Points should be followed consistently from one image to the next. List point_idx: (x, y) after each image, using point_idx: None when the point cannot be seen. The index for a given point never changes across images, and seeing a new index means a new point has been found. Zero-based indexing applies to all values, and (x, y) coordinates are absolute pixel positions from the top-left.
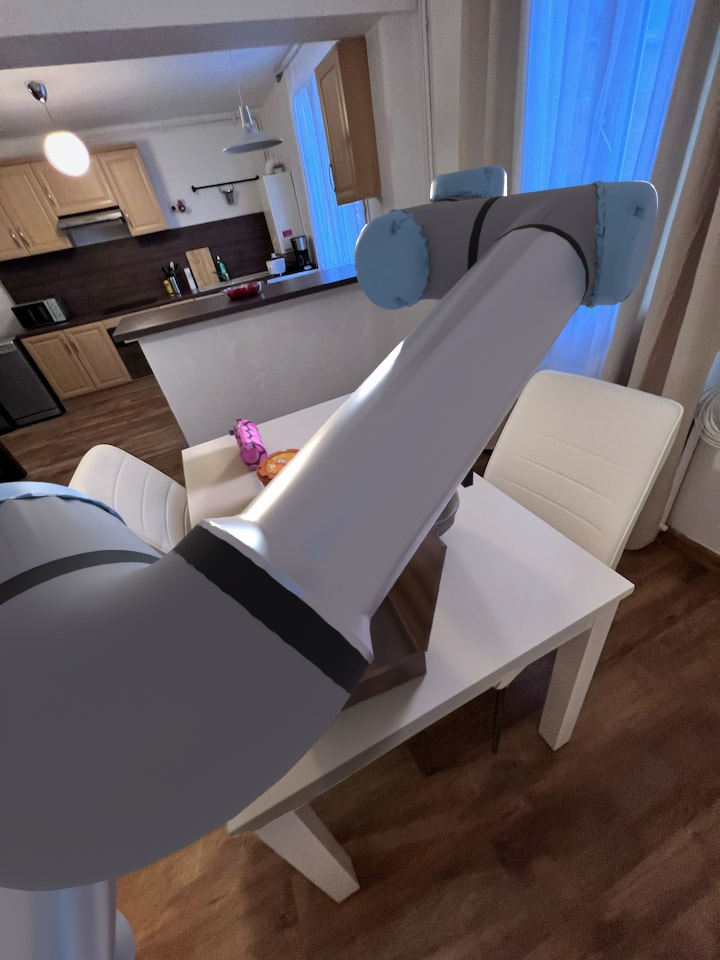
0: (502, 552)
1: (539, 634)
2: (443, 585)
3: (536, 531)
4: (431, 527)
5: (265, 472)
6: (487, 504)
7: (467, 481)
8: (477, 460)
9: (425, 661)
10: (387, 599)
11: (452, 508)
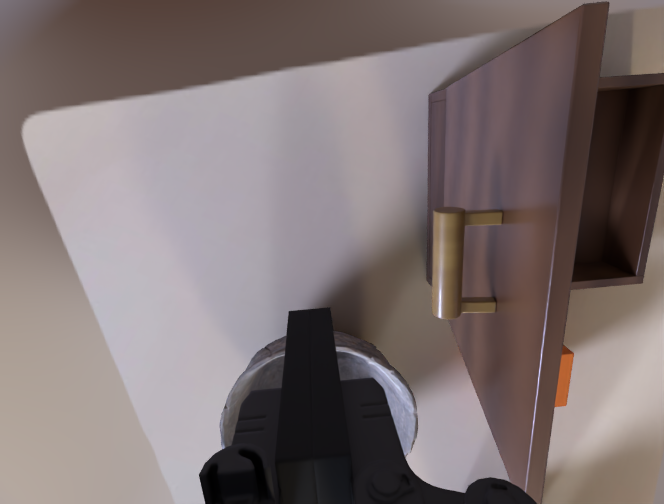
0: (191, 270)
1: (218, 87)
2: (326, 241)
3: (103, 293)
4: (570, 143)
5: None
6: (160, 386)
7: (317, 323)
8: (244, 401)
9: (441, 90)
10: None
11: (248, 382)
